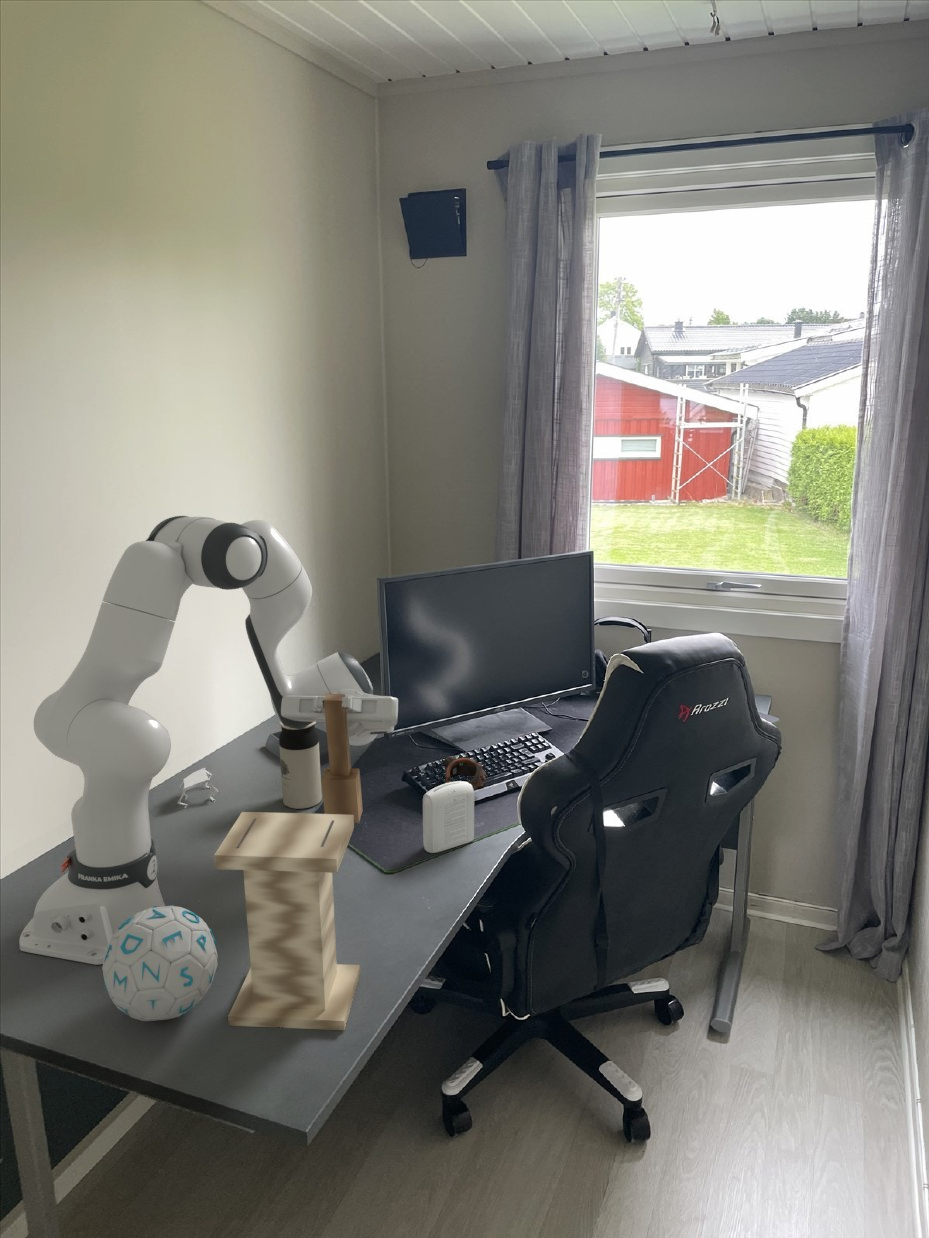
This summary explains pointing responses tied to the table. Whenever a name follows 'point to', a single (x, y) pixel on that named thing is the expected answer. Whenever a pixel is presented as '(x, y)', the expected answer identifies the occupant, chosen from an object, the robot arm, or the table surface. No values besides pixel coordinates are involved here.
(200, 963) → the puzzle ball
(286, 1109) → the table surface
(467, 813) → the photo printer
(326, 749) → the dark grey flat piece
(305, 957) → the pine stand
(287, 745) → the travel mug
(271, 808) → the table surface
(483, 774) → the pottery mug
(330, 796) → the wooden mallet
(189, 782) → the light grey legged piece
